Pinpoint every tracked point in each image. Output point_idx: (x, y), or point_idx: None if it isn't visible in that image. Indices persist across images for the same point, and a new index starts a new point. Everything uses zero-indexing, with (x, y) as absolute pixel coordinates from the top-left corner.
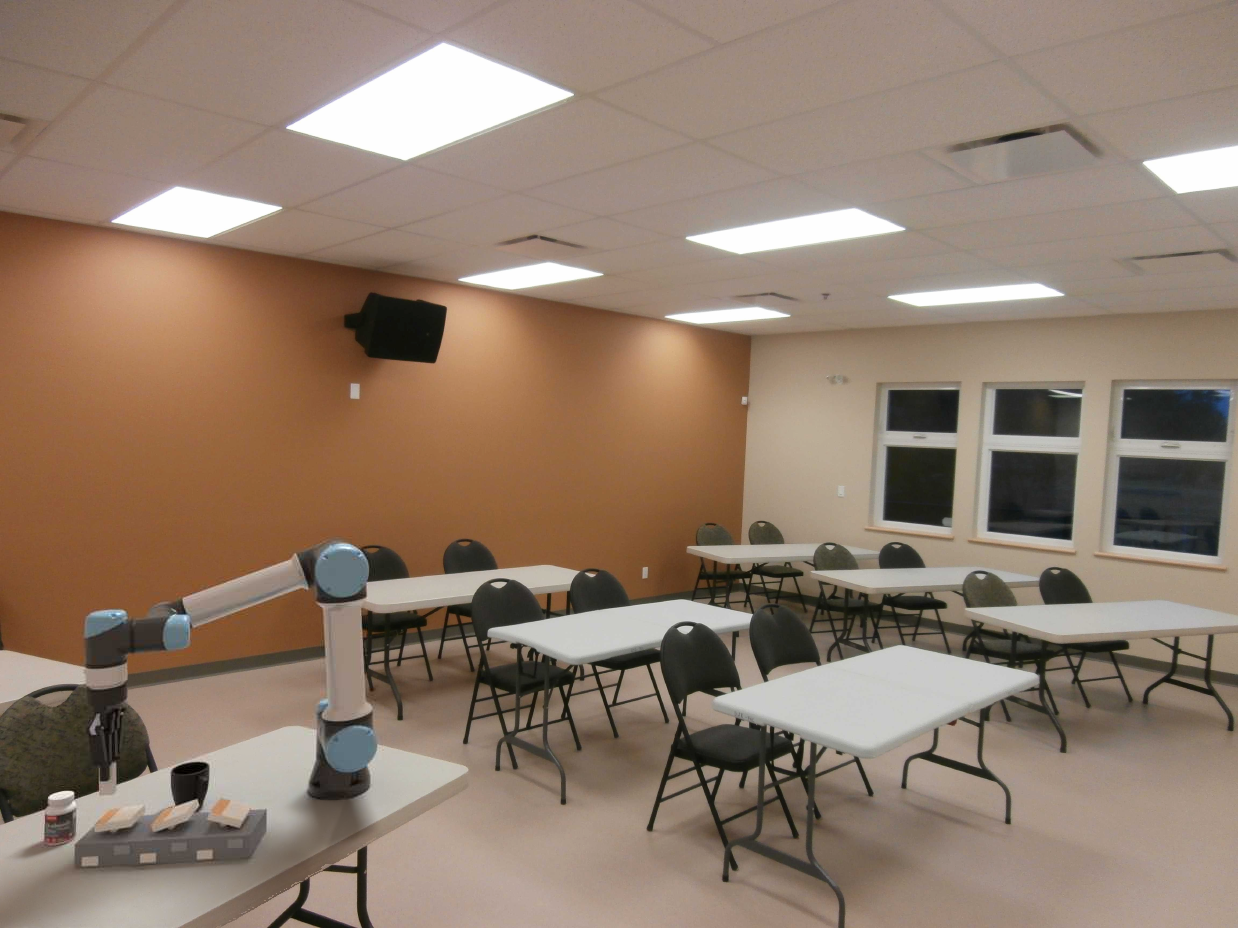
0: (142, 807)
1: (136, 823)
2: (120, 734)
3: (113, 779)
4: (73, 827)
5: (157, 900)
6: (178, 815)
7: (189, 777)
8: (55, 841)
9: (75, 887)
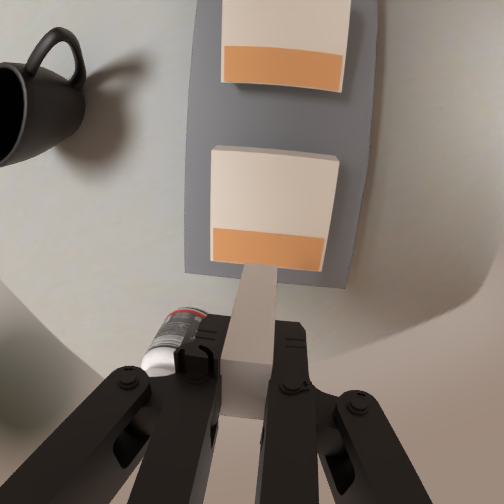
0: (232, 150)
1: None
2: (65, 482)
3: (270, 301)
4: (187, 322)
5: (497, 65)
6: (345, 4)
7: (33, 90)
8: None
9: (420, 230)
